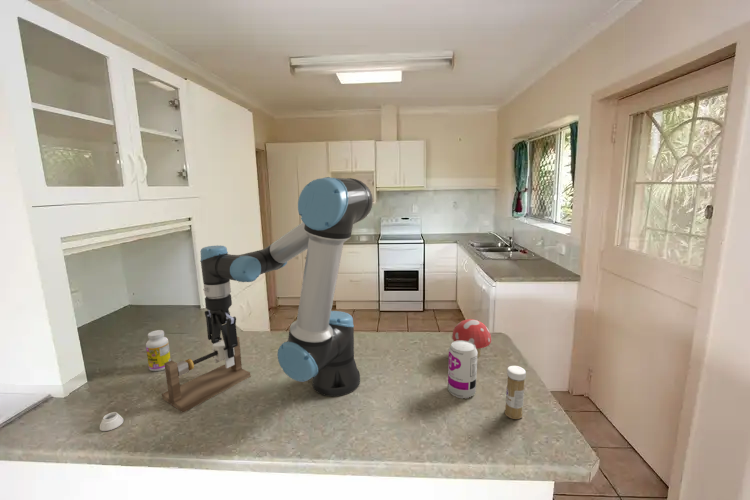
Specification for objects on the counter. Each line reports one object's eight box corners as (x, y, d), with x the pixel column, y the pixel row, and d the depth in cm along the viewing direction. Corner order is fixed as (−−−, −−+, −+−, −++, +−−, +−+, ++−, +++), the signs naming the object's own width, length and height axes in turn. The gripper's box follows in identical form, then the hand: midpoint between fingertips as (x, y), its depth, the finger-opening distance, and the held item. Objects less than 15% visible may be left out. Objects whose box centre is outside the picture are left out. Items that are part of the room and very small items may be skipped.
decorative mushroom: (469, 373, 114) (471, 331, 111) (443, 356, 126) (444, 317, 123) (498, 363, 120) (500, 323, 118) (471, 348, 132) (472, 311, 129)
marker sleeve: (234, 354, 112) (233, 342, 112) (220, 361, 108) (219, 348, 108) (227, 351, 115) (226, 339, 114) (213, 357, 111) (211, 345, 110)
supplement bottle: (144, 369, 119) (139, 334, 116) (163, 360, 125) (158, 327, 122) (157, 373, 116) (152, 338, 114) (175, 364, 122) (171, 330, 120)
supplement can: (456, 402, 99) (457, 353, 97) (443, 386, 107) (444, 341, 104) (480, 397, 102) (483, 350, 99) (466, 382, 109) (468, 338, 107)
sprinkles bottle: (501, 409, 96) (504, 365, 93) (517, 408, 96) (520, 364, 94) (509, 420, 91) (512, 374, 89) (525, 419, 92) (529, 373, 89)
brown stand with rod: (250, 376, 114) (247, 340, 111) (183, 412, 96) (177, 370, 93) (229, 366, 120) (225, 332, 118) (162, 398, 102) (156, 359, 100)
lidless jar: (124, 426, 91) (122, 416, 95) (123, 416, 90) (120, 407, 94) (100, 435, 88) (99, 425, 91) (98, 424, 87) (97, 415, 91)
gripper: (190, 293, 110) (198, 360, 114) (224, 303, 100) (231, 377, 104) (212, 287, 116) (219, 351, 120) (246, 296, 106) (252, 366, 110)
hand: (224, 363), depth 112 cm, fingers open, 5 cm apart
